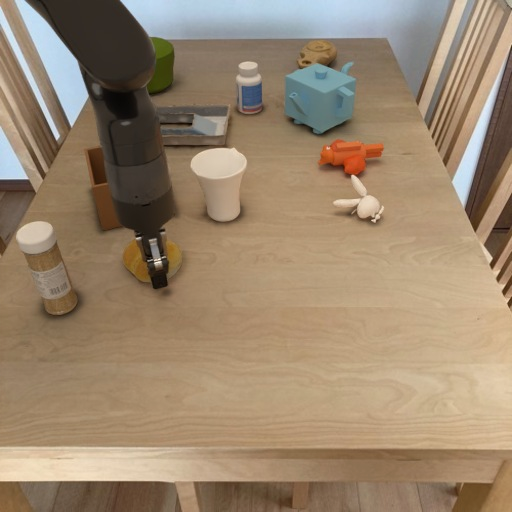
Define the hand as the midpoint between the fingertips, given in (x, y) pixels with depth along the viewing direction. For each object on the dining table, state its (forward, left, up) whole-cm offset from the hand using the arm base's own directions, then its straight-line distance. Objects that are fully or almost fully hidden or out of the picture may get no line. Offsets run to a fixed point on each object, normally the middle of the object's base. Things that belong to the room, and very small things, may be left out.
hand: (159, 284), depth 79 cm
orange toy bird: (+42, -12, -1) cm, 44 cm away
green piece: (+53, +42, -1) cm, 68 cm away
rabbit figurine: (+30, -18, -1) cm, 35 cm away
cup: (+20, +2, -1) cm, 20 cm away
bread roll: (+4, +4, -1) cm, 6 cm away
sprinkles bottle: (-9, +11, -1) cm, 14 cm away
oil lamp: (+80, +12, -1) cm, 81 cm away
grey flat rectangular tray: (+38, +26, -1) cm, 46 cm away
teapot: (+56, 0, -1) cm, 56 cm away
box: (+15, +17, -1) cm, 23 cm away
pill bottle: (+54, +16, -1) cm, 57 cm away
